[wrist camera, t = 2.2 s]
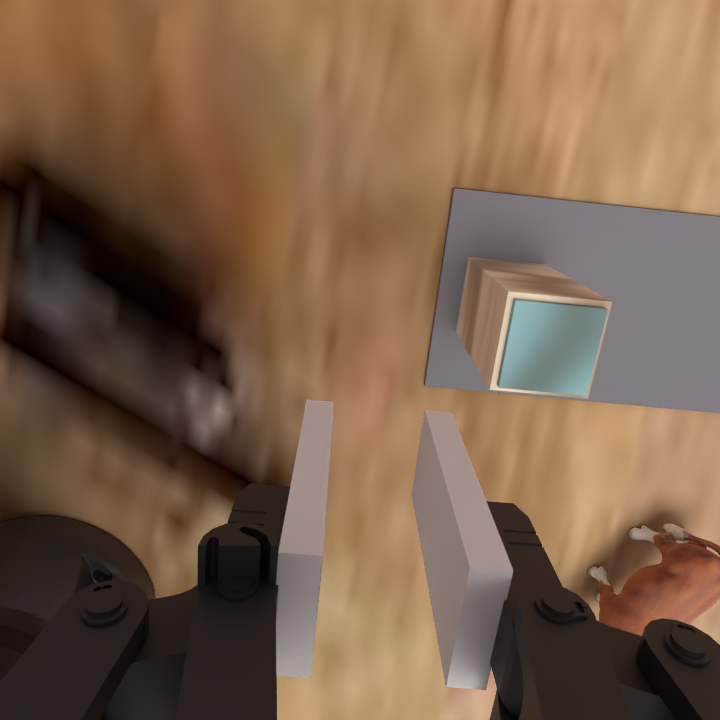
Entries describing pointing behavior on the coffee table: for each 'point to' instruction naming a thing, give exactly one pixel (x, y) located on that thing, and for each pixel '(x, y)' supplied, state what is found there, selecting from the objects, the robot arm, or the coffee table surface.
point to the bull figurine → (663, 582)
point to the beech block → (531, 327)
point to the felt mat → (599, 291)
